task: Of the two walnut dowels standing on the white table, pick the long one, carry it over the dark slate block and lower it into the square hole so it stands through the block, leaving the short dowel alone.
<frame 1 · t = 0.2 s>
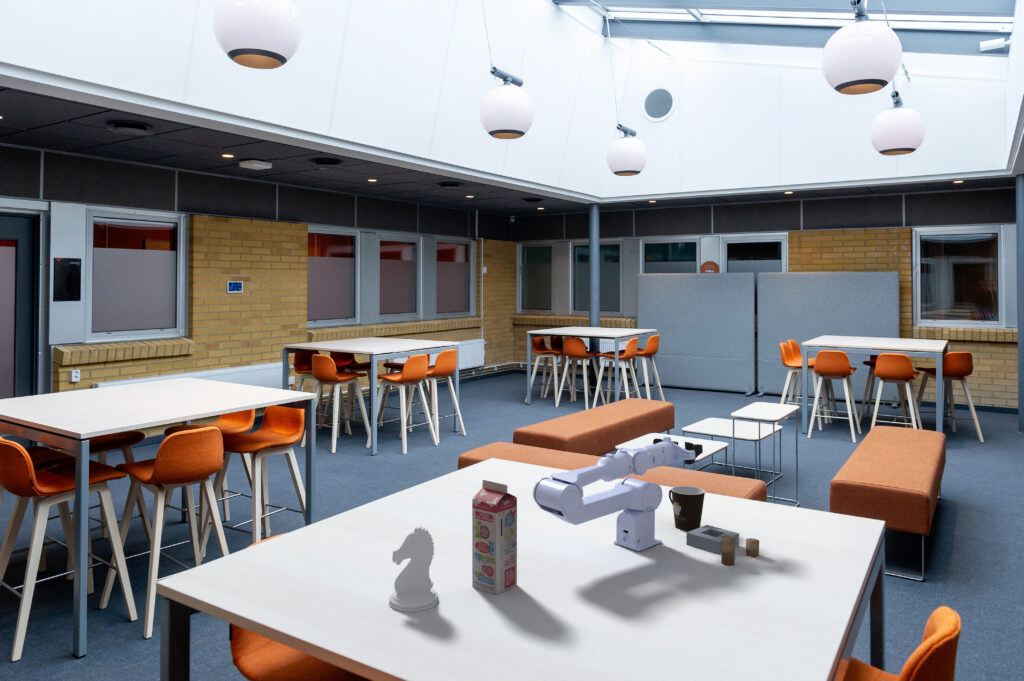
hand: (689, 447, 187), 21 cm above the table, tool horizontal, fingers open, 7 cm apart
juice carton: (494, 586, 149), on the table
coffee mug: (686, 526, 189), on the table
long dowel: (728, 563, 162), on the table
chess piece: (413, 602, 142), on the table
short dowel: (752, 555, 168), on the table
hole block: (712, 544, 174), on the table
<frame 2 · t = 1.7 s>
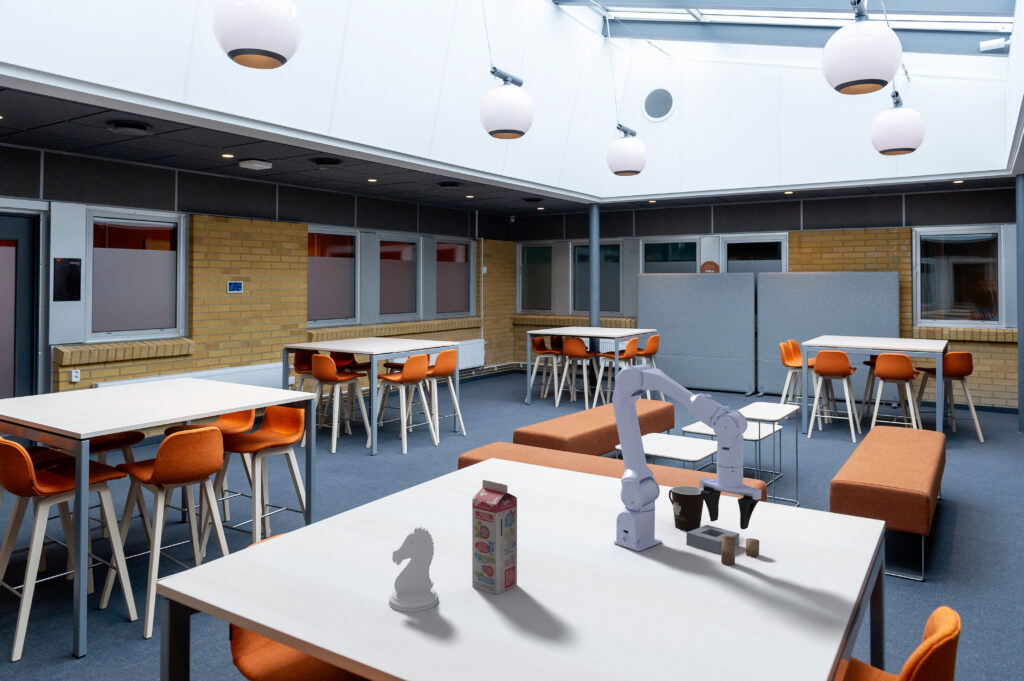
hand: (728, 524, 162), 9 cm above the table, tool pointing down, fingers open, 7 cm apart
nothing on the table moved.
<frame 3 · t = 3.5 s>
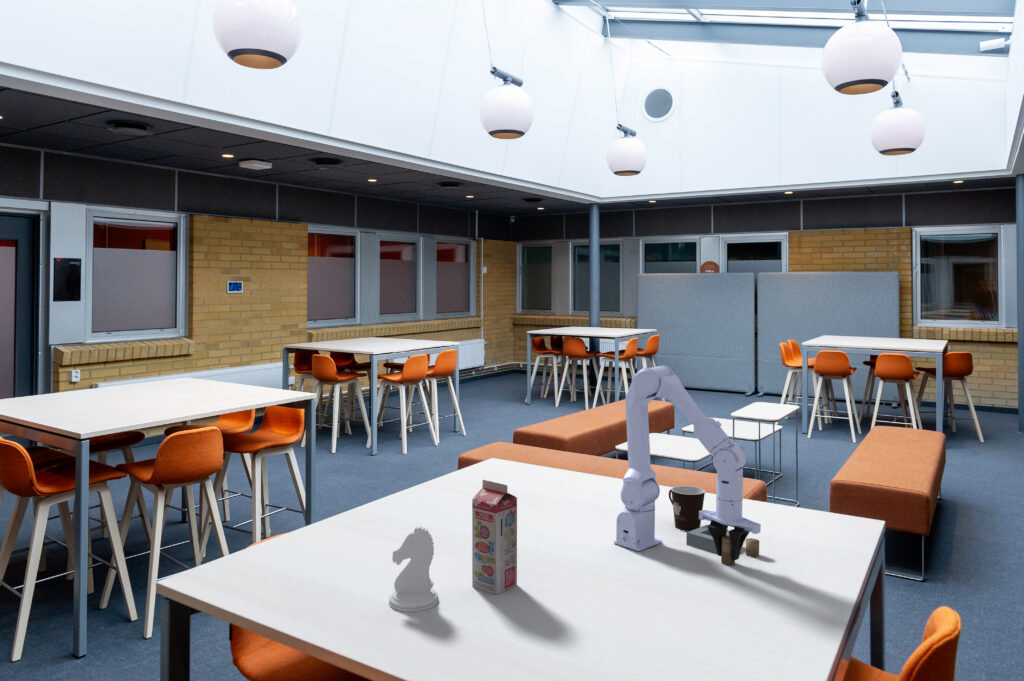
hand: (728, 557, 162), 1 cm above the table, tool pointing down, fingers closed on long dowel, 3 cm apart
long dowel: (728, 563, 162), on the table, touching gripper
everything else where it was.
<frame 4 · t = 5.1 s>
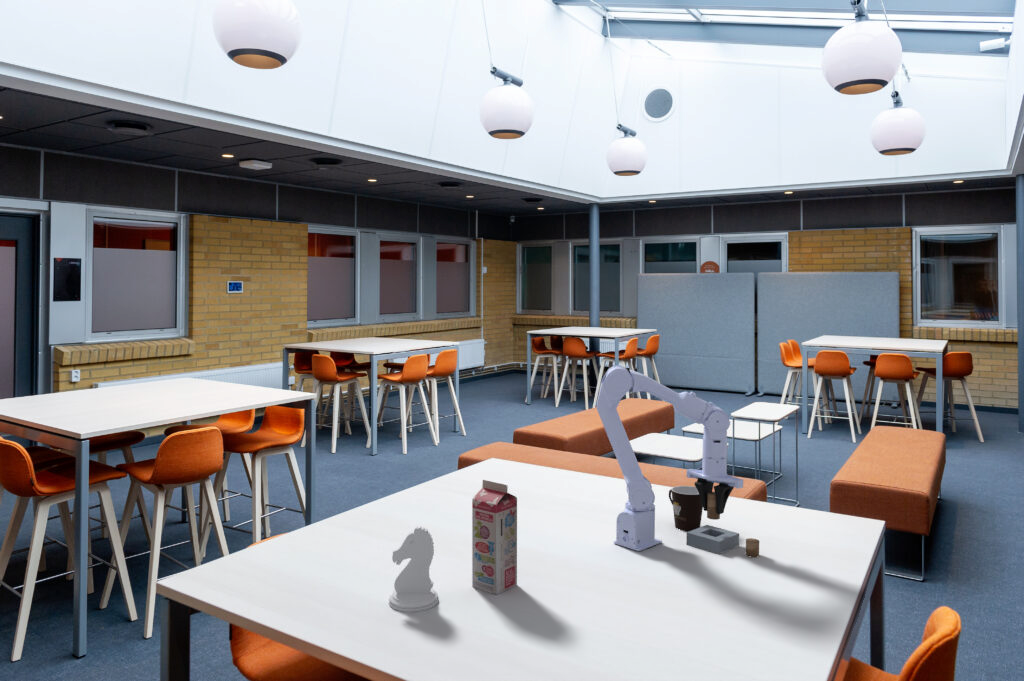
hand: (713, 511, 174), 8 cm above the table, tool pointing down, fingers closed on long dowel, 3 cm apart
long dowel: (713, 517, 174), point 7 cm above the table, touching gripper
everything else where it was.
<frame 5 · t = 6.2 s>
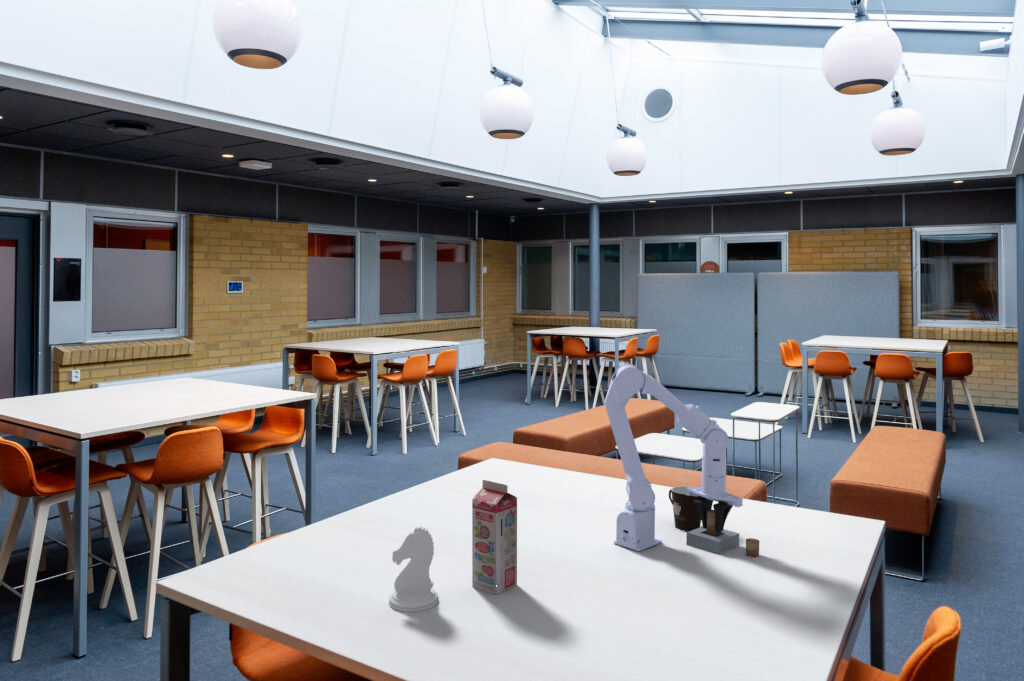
hand: (713, 529, 174), 4 cm above the table, tool pointing down, fingers closed on long dowel, 3 cm apart
long dowel: (712, 535, 174), point 2 cm above the table, touching gripper
everything else where it was.
when the fingers open (3 cm above the table, at t = 7.0 s): long dowel drops 2 cm, resting in hole block.
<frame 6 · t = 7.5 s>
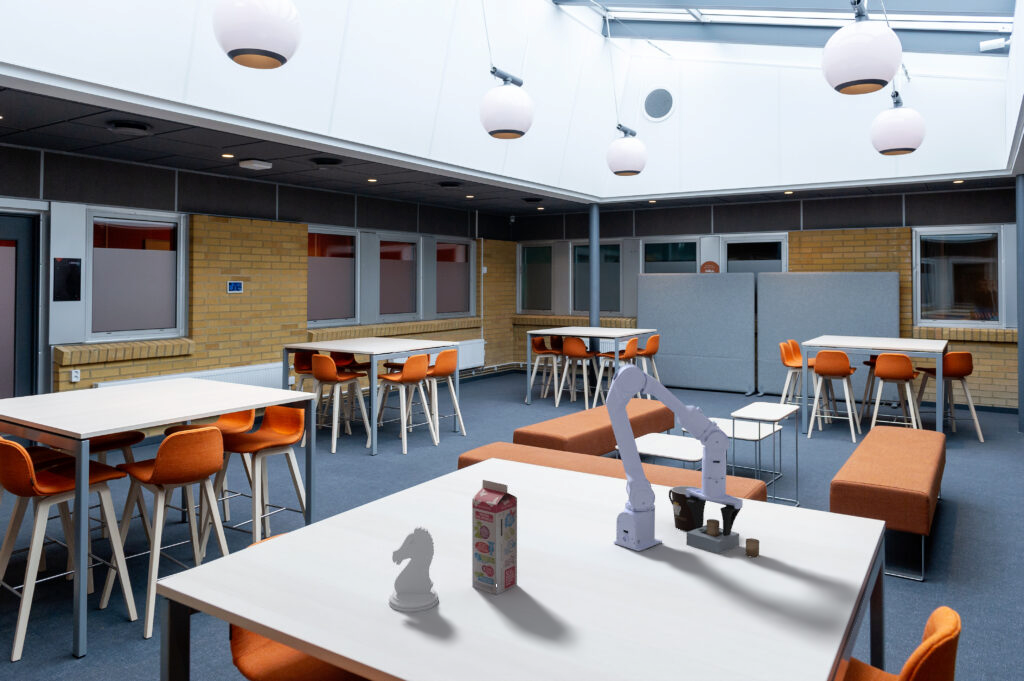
hand: (712, 531, 174), 3 cm above the table, tool pointing down, fingers open, 7 cm apart
long dowel: (712, 545, 174), resting in hole block
everything else where it was.
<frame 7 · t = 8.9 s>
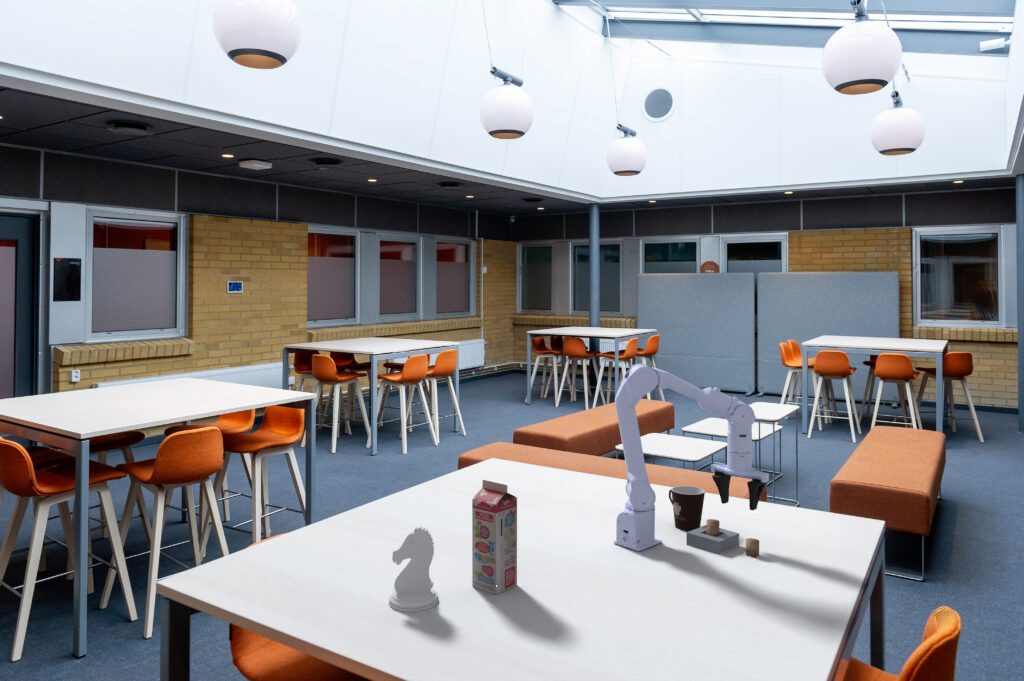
hand: (738, 506, 174), 10 cm above the table, tool pointing down, fingers open, 7 cm apart
nothing on the table moved.
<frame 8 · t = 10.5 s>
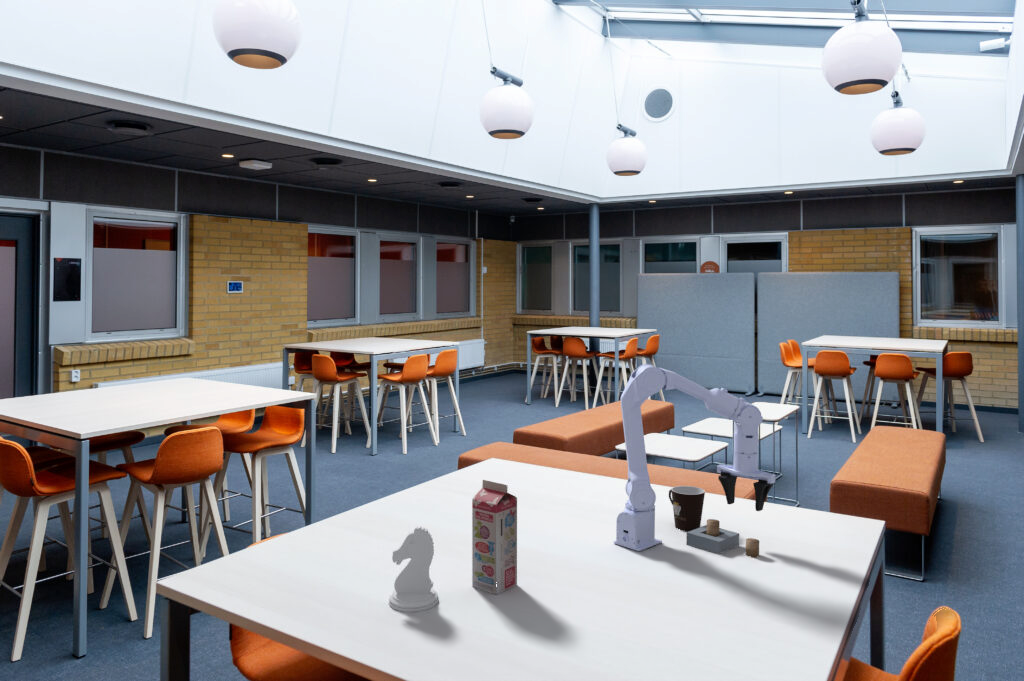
hand: (744, 506, 174), 9 cm above the table, tool pointing down, fingers open, 7 cm apart
nothing on the table moved.
at the end: long dowel 0.0 cm off-centre on the hole block, point 0.0 cm above the hole block's base; long dowel tilted 0°; short dowel moved 0.1 cm from its start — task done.
